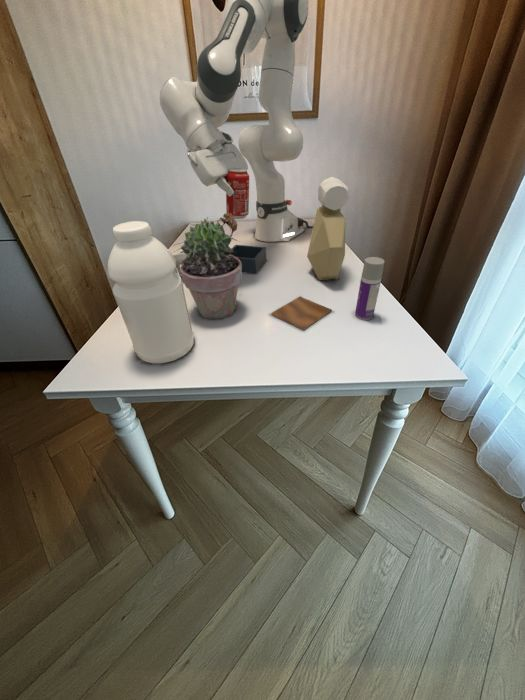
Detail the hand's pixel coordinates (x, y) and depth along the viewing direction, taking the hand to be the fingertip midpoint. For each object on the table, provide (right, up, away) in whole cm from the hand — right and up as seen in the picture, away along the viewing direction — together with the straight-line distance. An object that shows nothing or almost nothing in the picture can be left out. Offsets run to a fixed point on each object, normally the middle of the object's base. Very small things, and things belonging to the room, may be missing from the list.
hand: (239, 192), depth 85 cm
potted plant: (-7, -33, +1) cm, 33 cm away
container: (+33, -34, -3) cm, 48 cm away
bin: (0, -13, +25) cm, 28 cm away
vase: (+27, -18, +18) cm, 37 cm away
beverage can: (-1, -5, +4) cm, 7 cm away
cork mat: (+17, -34, -1) cm, 38 cm away
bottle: (-17, -43, -11) cm, 47 cm away
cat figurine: (-17, -20, +18) cm, 32 cm away
